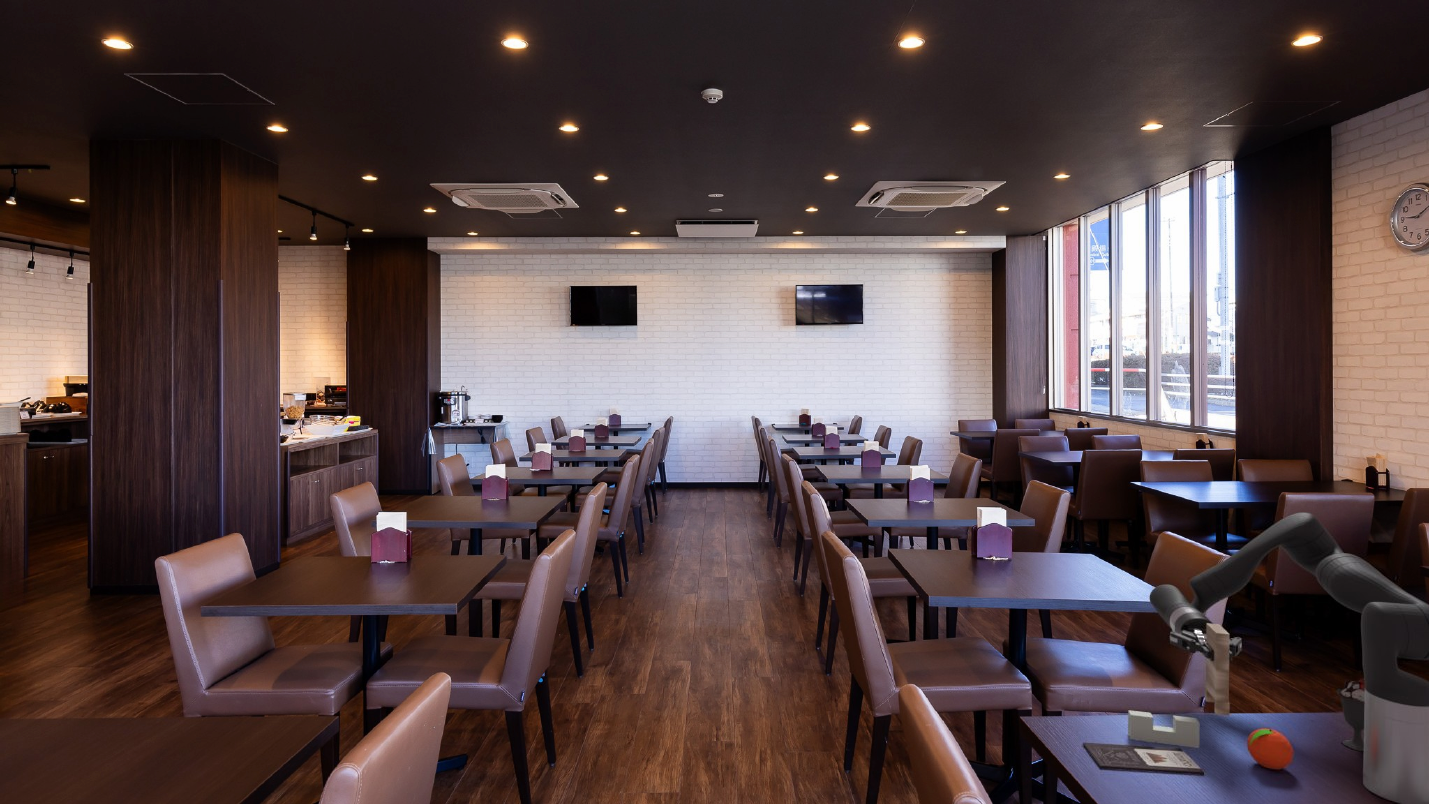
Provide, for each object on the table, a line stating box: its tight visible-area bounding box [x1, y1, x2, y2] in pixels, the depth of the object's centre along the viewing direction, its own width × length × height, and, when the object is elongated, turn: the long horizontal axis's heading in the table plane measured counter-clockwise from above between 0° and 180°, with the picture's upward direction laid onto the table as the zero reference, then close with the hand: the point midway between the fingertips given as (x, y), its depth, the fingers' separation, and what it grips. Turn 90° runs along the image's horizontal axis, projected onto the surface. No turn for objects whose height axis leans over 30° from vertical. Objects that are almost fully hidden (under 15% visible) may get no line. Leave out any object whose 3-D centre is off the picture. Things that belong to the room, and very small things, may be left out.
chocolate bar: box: [1082, 742, 1205, 776], centre depth 140 cm, size 9×1×18 cm
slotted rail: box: [1127, 710, 1200, 749], centre depth 147 cm, size 12×2×5 cm, turn 72°
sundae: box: [1336, 677, 1365, 752], centre depth 145 cm, size 7×7×15 cm
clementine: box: [1246, 727, 1294, 770], centre depth 137 cm, size 8×7×7 cm
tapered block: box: [1204, 623, 1231, 717], centre depth 147 cm, size 2×7×16 cm, turn 162°
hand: (1220, 656), depth 145 cm, fingers closed on tapered block, 2 cm apart
